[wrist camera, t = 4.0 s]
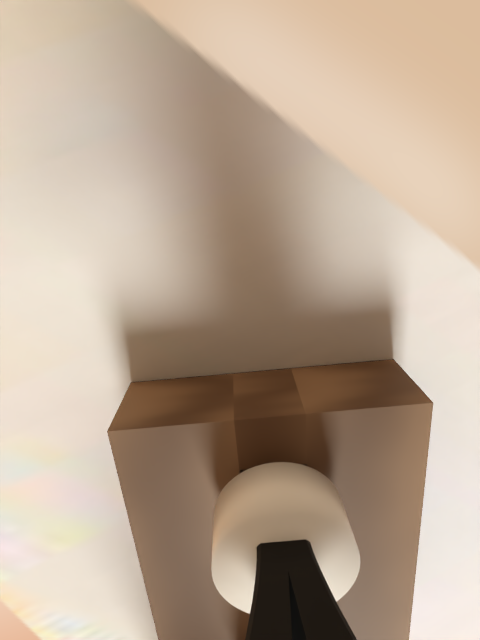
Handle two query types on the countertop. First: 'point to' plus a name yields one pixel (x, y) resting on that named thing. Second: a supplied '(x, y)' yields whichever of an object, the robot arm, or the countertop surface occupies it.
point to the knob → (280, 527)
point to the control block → (267, 447)
